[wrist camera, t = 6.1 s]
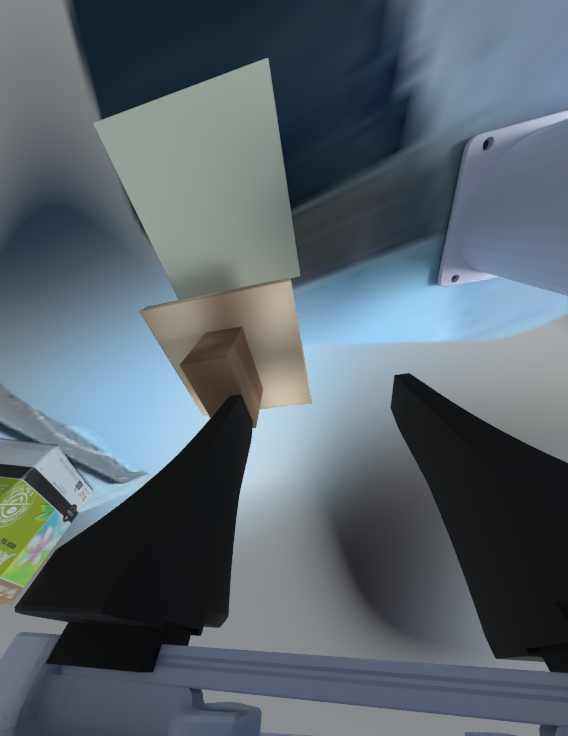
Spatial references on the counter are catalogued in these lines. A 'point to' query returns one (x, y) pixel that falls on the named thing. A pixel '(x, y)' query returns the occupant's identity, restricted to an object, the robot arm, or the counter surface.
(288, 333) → the lid
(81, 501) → the tea box
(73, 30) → the counter surface
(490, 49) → the counter surface
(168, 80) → the counter surface
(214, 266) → the mat
